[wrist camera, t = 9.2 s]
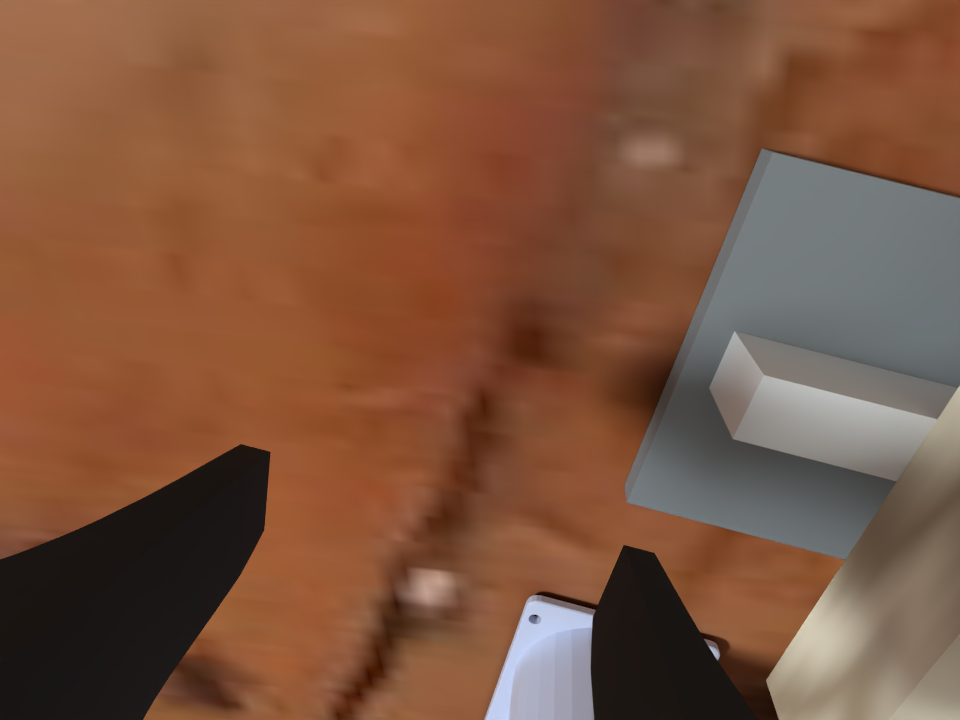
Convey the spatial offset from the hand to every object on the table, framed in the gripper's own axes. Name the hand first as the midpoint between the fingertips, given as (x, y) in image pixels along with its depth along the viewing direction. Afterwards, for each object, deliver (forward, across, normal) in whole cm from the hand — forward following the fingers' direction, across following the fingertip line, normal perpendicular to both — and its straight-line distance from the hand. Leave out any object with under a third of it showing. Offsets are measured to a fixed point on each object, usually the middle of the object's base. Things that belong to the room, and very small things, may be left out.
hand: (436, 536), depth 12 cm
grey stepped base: (+9, -13, -2) cm, 16 cm away
